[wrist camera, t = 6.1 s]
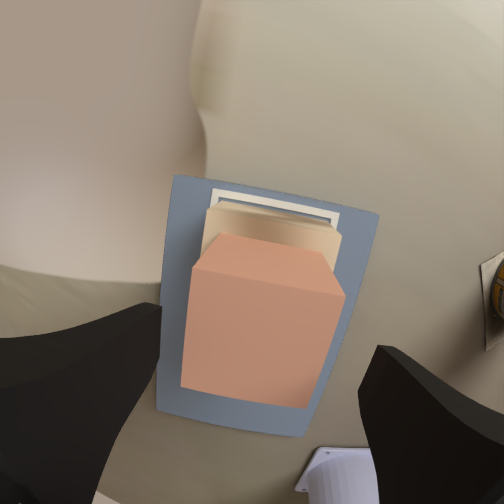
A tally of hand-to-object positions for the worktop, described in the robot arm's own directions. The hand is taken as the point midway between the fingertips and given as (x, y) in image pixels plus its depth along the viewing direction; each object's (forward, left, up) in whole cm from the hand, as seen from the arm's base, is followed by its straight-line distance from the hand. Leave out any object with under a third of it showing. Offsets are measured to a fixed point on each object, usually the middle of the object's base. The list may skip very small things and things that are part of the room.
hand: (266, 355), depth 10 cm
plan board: (0, +5, -10) cm, 11 cm away
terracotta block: (0, 0, -5) cm, 5 cm away
